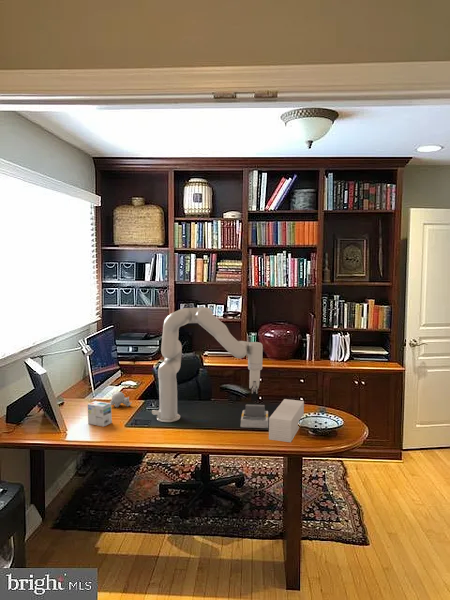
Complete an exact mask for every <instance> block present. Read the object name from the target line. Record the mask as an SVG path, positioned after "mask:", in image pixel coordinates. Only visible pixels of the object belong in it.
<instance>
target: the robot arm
mask: <svg viewBox="0 0 450 600" xmlns="http://www.w3.org/2000/svg"><path fill="white" fill-rule="evenodd" d="M187 324H198V325H199V326H201V328H203V329H204V330H206V332H208V333H209V334H210V335H211V336H212V337H214V339H215V340H216V341H217V342H218V343H219V344H220V345H221V346H222V347H223V349H225V350H226V351H227V352H228V353H230V354H231V355H232V356H233V357H235V358H236V359H243V358H244V357H246V356H247V369H248V370H249V380H248V381H249V385H248V386H249V389H250V390H251V394H250V395H251V398H250V400H251V402H258V400H259V398H258V397H259V387H260V380H261V371H262V370H263V349H264V348H263V343H262V342H260V341H259V342H258V341H246V340H237V339H236V338H235V337H234V336H233V335H232V334H231V332H230V330H229V328H228V327H227V325H226V324H225V323H224V322H222V321H221V320H220V319H219V318H217V317H216V316H215V315H214V313H213V311H212V310H211V308H209V307H207V306H206V307H184V308H180V309H178V310H176V311H173V312H171V313H170V314H169V315H167V316H166V317H165V318H164V321H163V325H162V334H161V336H162V337H161V346H160V351H161V352H160V353H161V355H162V357H163V361H162V362H161V363H160V364H159V367H158V368H157V378H158V394H159V395H158V396H159V397H158V399H159V402H158V403H159V404H158V405H159V407H158V408H159V409H158V410H155V409H152V410H151V414H152V415H153V416H156V420H157V421H158V422H162V423H173V422H177V421H179V420H180V419H181V415H180V414H179V413H178V382H177V381H178V380H177V373H179V371H180V369H181V365H182V364H181V363H182V352H183V350H182V349H183V346H182V342H181V341H180V340H179V335H180V334H179V332H180V331H179V330H180V328H181V327H183V326H185V325H187Z"/></svg>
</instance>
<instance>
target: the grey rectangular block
mask: <svg viewBox="0 0 450 600" xmlns="http://www.w3.org/2000/svg"><path fill="white" fill-rule="evenodd" d="M304 410H305V401H304V400H297V399H296V400H295V399H287V398H284V399H283V400H282V401H281V403H280V404H279V405H278V406H277V407H276V409H275V410H274V411H273V413H272V414H271V415H270V416H268V440H270V441H279V442H285V443H292V441H293V439H294V437H295V436H296V435H297V433H298V431H299V430H300V428H299V426H298V422H299V420H300V419H301V417H302V416H303V415H304V416H305V411H304Z"/></svg>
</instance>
